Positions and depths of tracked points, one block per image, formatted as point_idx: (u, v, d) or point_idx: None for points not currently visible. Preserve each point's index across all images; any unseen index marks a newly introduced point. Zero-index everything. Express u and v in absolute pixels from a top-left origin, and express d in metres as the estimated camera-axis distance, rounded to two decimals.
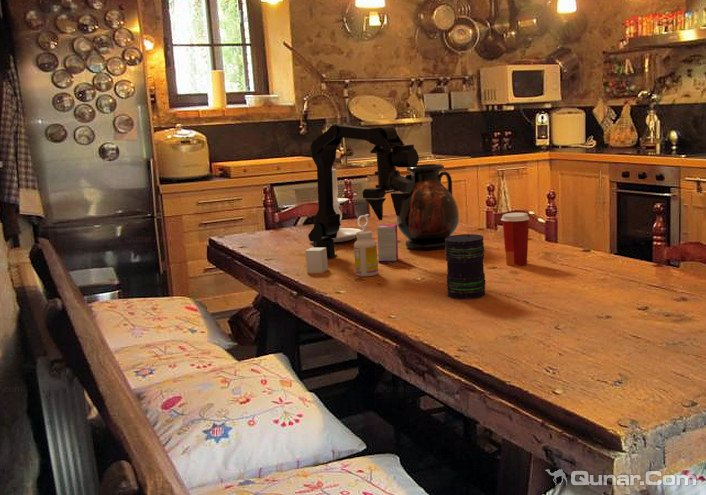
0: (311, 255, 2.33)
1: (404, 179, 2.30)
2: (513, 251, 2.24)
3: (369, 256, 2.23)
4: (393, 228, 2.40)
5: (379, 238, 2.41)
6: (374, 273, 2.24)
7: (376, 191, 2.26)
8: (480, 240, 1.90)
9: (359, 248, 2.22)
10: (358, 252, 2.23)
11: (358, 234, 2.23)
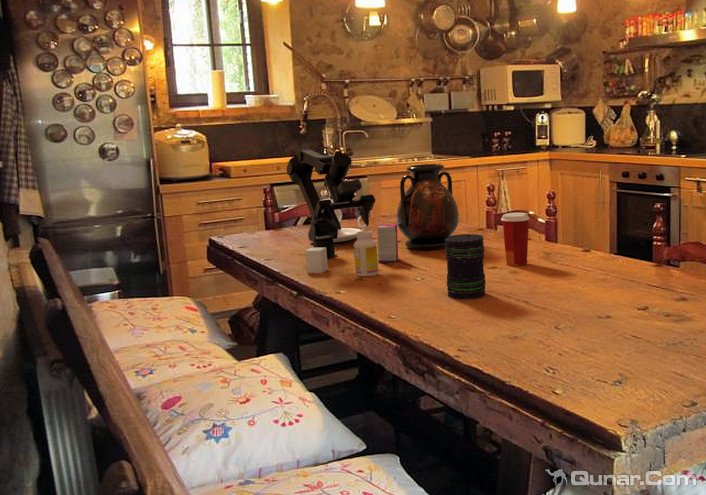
0: (311, 255, 2.33)
1: None
2: (513, 251, 2.24)
3: (369, 256, 2.23)
4: (393, 228, 2.40)
5: (379, 238, 2.41)
6: (374, 273, 2.24)
7: (318, 201, 2.31)
8: (480, 240, 1.90)
9: (359, 248, 2.22)
10: (358, 252, 2.23)
11: (358, 234, 2.23)
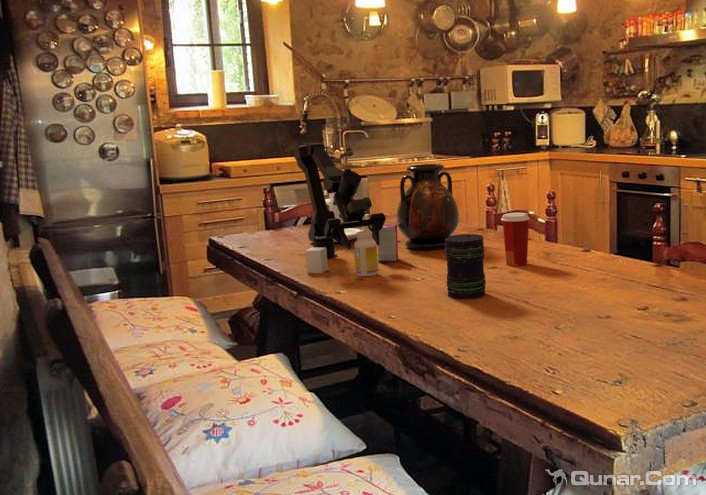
0: (311, 255, 2.33)
1: None
2: (513, 251, 2.24)
3: (369, 256, 2.23)
4: (393, 228, 2.40)
5: (379, 238, 2.41)
6: (374, 273, 2.24)
7: (328, 220, 2.25)
8: (480, 240, 1.90)
9: (359, 248, 2.22)
10: (358, 252, 2.23)
11: (358, 234, 2.23)
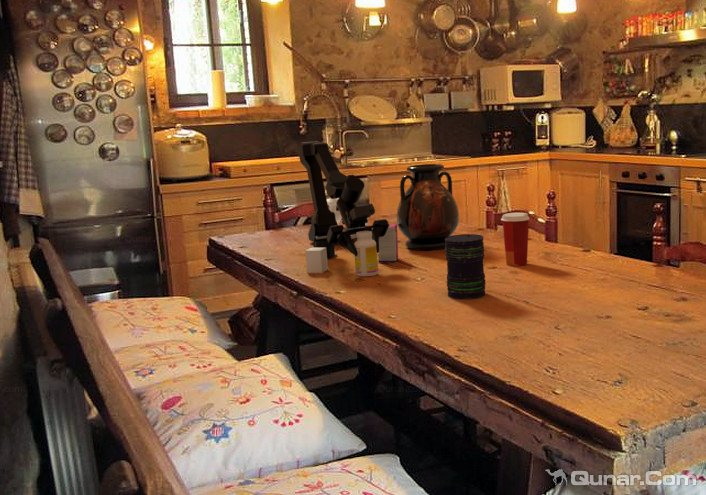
0: (311, 255, 2.33)
1: None
2: (513, 251, 2.24)
3: (369, 256, 2.23)
4: (393, 228, 2.40)
5: (379, 238, 2.41)
6: (374, 273, 2.24)
7: (331, 227, 2.24)
8: (480, 240, 1.90)
9: (359, 248, 2.22)
10: (358, 252, 2.23)
11: (358, 234, 2.23)
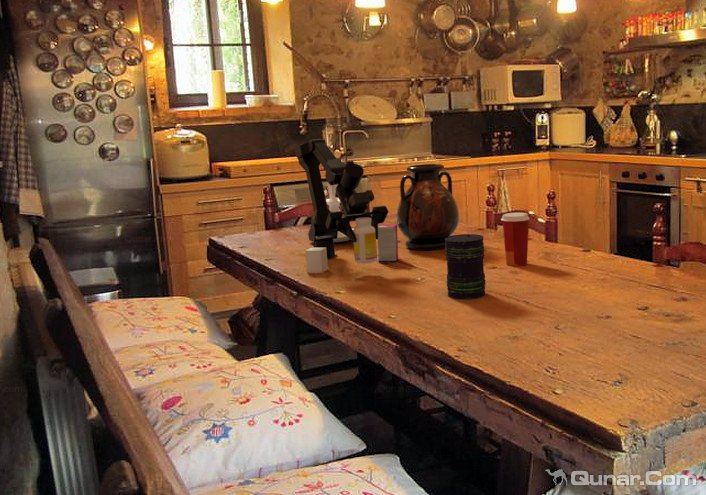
0: (311, 255, 2.33)
1: None
2: (513, 251, 2.24)
3: (368, 242, 2.22)
4: (393, 228, 2.40)
5: (379, 238, 2.41)
6: (373, 260, 2.24)
7: (330, 213, 2.23)
8: (480, 240, 1.90)
9: (358, 234, 2.22)
10: (357, 238, 2.22)
11: (358, 221, 2.22)
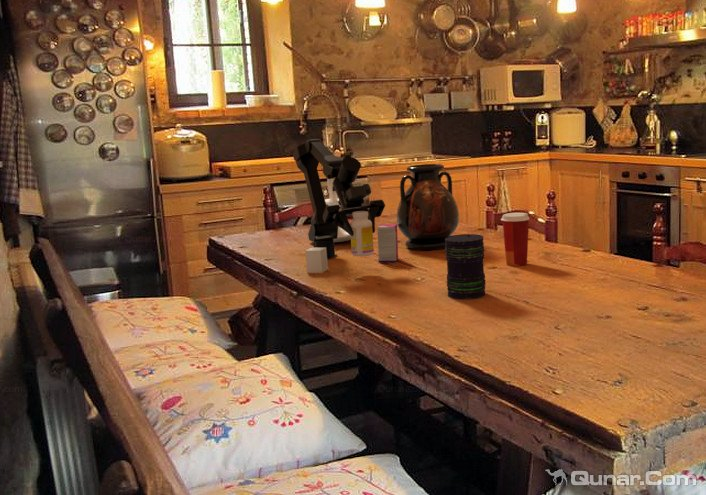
0: (311, 255, 2.33)
1: None
2: (513, 251, 2.24)
3: (365, 236, 2.23)
4: (393, 228, 2.40)
5: (379, 238, 2.41)
6: (370, 253, 2.25)
7: (327, 206, 2.24)
8: (480, 240, 1.90)
9: (355, 228, 2.23)
10: (354, 232, 2.24)
11: (355, 214, 2.24)
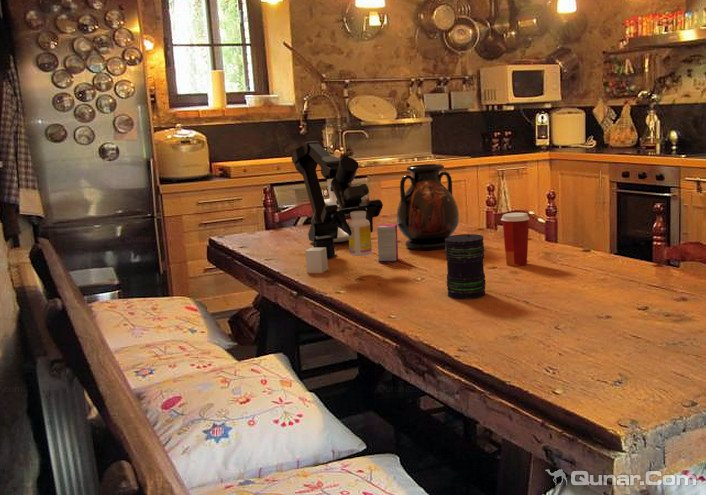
0: (311, 255, 2.33)
1: None
2: (513, 251, 2.24)
3: (363, 235, 2.25)
4: (393, 228, 2.40)
5: (379, 238, 2.41)
6: (368, 252, 2.26)
7: (325, 206, 2.26)
8: (480, 240, 1.90)
9: (353, 227, 2.25)
10: (352, 231, 2.25)
11: (352, 214, 2.25)
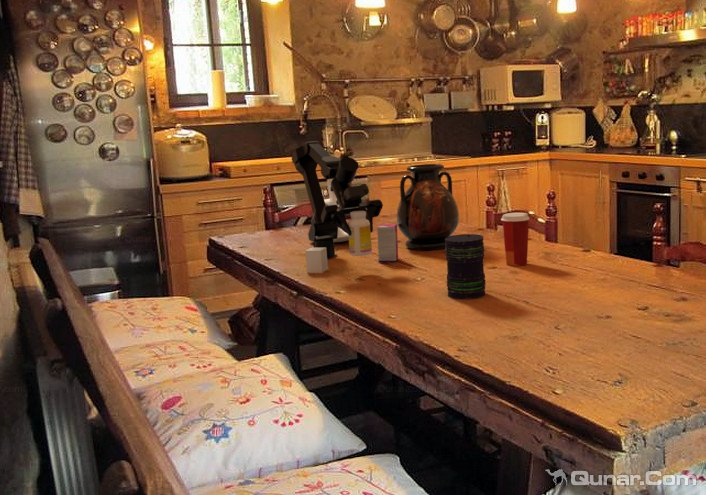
0: (311, 255, 2.33)
1: None
2: (513, 251, 2.24)
3: (363, 235, 2.25)
4: (393, 228, 2.40)
5: (379, 238, 2.41)
6: (368, 252, 2.26)
7: (325, 206, 2.26)
8: (480, 240, 1.90)
9: (353, 227, 2.25)
10: (352, 231, 2.25)
11: (352, 214, 2.25)
